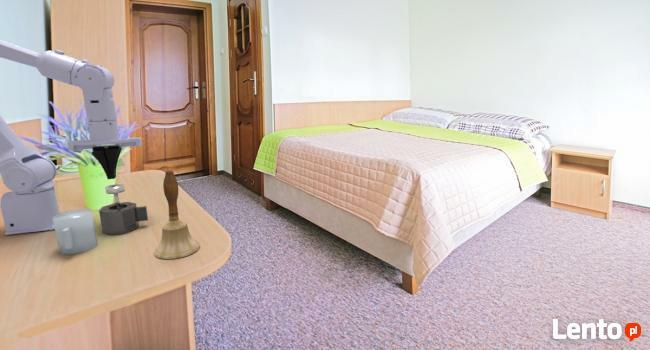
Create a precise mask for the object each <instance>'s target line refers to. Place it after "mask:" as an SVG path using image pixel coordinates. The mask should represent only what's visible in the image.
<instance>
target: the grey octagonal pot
mask: <svg viewBox="0 0 650 350" xmlns="http://www.w3.org/2000/svg"><path fill="white" fill-rule="evenodd" d="M119 203H120V209H116V204H115V202H114V203H110V204H108V205H103V206H101V208H100V209H99V210H98V213H99V214H98V215H99V218H100V226H101V230H102V231H101V232H102V234H105V235H108V236H109V235H110V236H115V235H122V234H123V235H124V234H128V233H130V232H133V231H135V230H137V229H138V228H139V226H140V222H144V221H145V222H147V221H148V220H149V216H148V209H147V205H144V206H137V203H136V202H131V201H124V202H119Z"/></svg>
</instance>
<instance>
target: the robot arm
mask: <svg viewBox="0 0 650 350" xmlns="http://www.w3.org/2000/svg"><path fill="white" fill-rule="evenodd" d="M0 58H2V59H5V60H9V61H12V62H15V63H19V64H23V65H26V66H29V67H33V68H36V69H37V71H38V72H39V73H40V75H41V76H43V77H44V78H49V79H50V80H51V79H52V80H55V81H58V82H61V83H64V84H67V85H70V86H74V87H78V88H79V89H80V90H81V91H82V96H83V105H84V109H85V110H84V111H85V114H86V119H87V125H88V131H89V137H90V138H89V139H78V140H68V141H67V142H66V143H67V147H68V151H70V152H71V151H75V150H76V151H77V150H90V149H91V150H92V151H91V154H92V156H93V157H94V159H96V160H97V162H98V163H99V164H100V166H101V168H102V170H103V171H104V173H105V175H106V178H107V180H114V179H116V178H117V167H118V162H119V159H120V155H121V152H122V150H123V149H122V148H125V147H126V148H129V147H136V148H137V147H142V146H143V142H142V137H137V136H136V137H120V132H119V125H118V118H117V112H116V105H115V99H114V96H113V94H114V93H113V89H112V88H113V87H114V85H115V77H114V75H113V73H112V72H111V71H110V70H109V69H108V68H105V67H103V66H102V65H97V64H96V65H94V64H90V60H87V59H83V58H82V59H81V60H80V59H77V58H74V57H71V56H69V55H66V53H65V51H62V50H60V49H59V50H58V49H54V50H46V51H43V52H37V51H35V50H31V49H29V48H25V47H24V46H20V45H17V44H15V43H11V42H9V41H5V40H3V39H1V38H0ZM57 171H58V170H57V166H56V165H55V163H54V162H53V161H52V160H51V159H49V158H47V157H45V156H43V155H42V153H40V152H39V151H38V150H37V149H35V148H32V147H30V146H29V145H26V144H25V143H24V142H23V141H22V139H21V138H20V137H19V136H18V135H17V134H16V132H15V131H14V130H13V129H12V128H11V127H10V126H9V124H8V123H7V122H6V121H5V120H4V118H3V117H2V116H1V115H0V177H1V179H2V182H3V184H4V186H5V187H6V188H7V189H8V190H10V191H6V192H5V193H3V194H2V196H1V198H0V211H1V214H2V215H1V216H2V219H3V222H4V223H3V224H4V226H5V231H6V232H4V235H5V236H8V235H17V234H27V233H36V232H44V231H53V230H54V231H55V228H54V223H53V219H52V218H53V217H54V216H55V215H57V214H60V213H61V212H60V209H59V204H58V197H57V195H56V193H57V192H56V187H55V185H54V184H55V183H54V181H53V180H54V179H55V178H56V175H57Z"/></svg>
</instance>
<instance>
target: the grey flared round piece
mask: <svg viewBox="0 0 650 350" xmlns="http://www.w3.org/2000/svg"><path fill="white" fill-rule="evenodd" d="M104 188H105V194H107V195H113V197H114V203H115V204H116V209H120V203H121V202H120V197H119V194H121V193H123V192H125V191H126V189H125V185H124V184H123V183H122V184H121V183H120V184H118V183H116V184H110V185H107V186H105V187H104Z"/></svg>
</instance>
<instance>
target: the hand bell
mask: <svg viewBox="0 0 650 350" xmlns="http://www.w3.org/2000/svg"><path fill="white" fill-rule="evenodd" d="M164 174H165V175H164V178H163V187H162V188H163V193H164V196H165V198H166V202H167V204H168V206H167V207H168V221H167V222H165V223H164V224H163V225H162V227H161V239H160V243H158V245H157V247H156V248H155V250H154V256H155V257H156V258H157V259H161V260H162V259H163V260H177V259H181V258H185V257H188V256H191V255H192V254H194V253H196V252H198V251H199V249H200V247H201V245H200V242H198V241H197V240H196V239H194V237H192V235H191V233H190V231H189V228H188V227H189V226H188V223H187V222H186V221H184V220H181V219H179V210H178V209H179V208H178V203H177V202H178V197H179V183H178V180H177V178H176V175H175V173H174V170H170V169H169V170H165V173H164Z"/></svg>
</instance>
